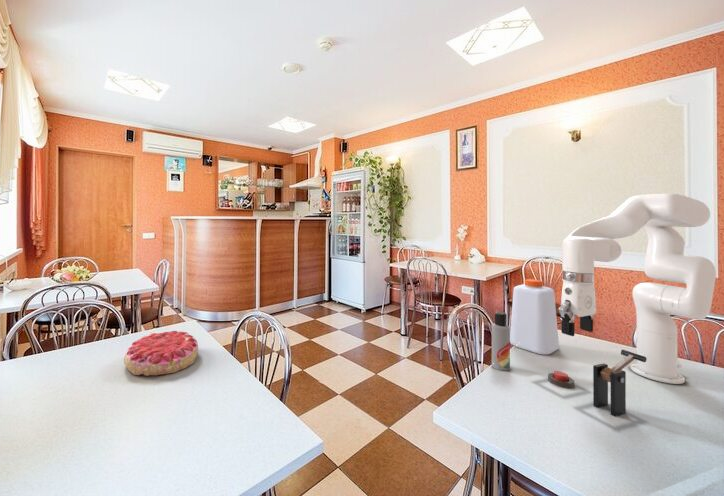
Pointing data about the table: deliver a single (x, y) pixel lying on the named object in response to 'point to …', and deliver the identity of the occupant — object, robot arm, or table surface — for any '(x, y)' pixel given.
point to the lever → (621, 364)
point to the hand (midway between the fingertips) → (577, 332)
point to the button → (560, 376)
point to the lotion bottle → (501, 342)
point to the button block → (561, 383)
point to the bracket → (616, 390)
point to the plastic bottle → (534, 318)
